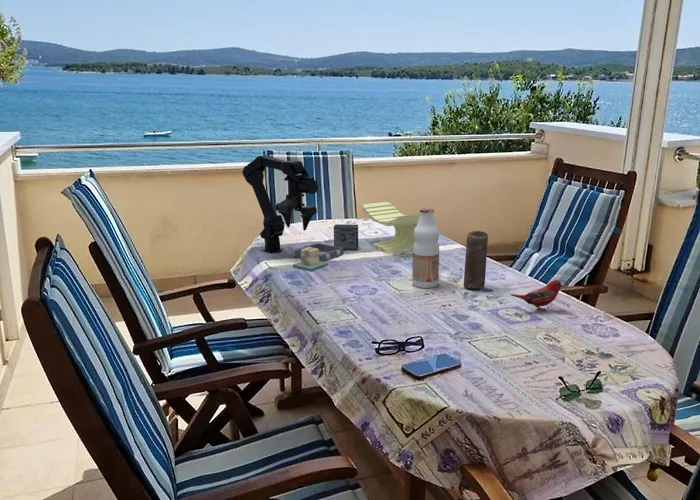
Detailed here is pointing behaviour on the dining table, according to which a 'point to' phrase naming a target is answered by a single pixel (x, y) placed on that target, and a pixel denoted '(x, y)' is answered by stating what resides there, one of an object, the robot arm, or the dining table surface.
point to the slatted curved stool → (401, 223)
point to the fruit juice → (426, 251)
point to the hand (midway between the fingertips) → (296, 228)
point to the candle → (475, 260)
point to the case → (331, 250)
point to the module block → (310, 256)
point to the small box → (346, 236)
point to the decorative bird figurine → (542, 295)
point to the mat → (310, 268)
